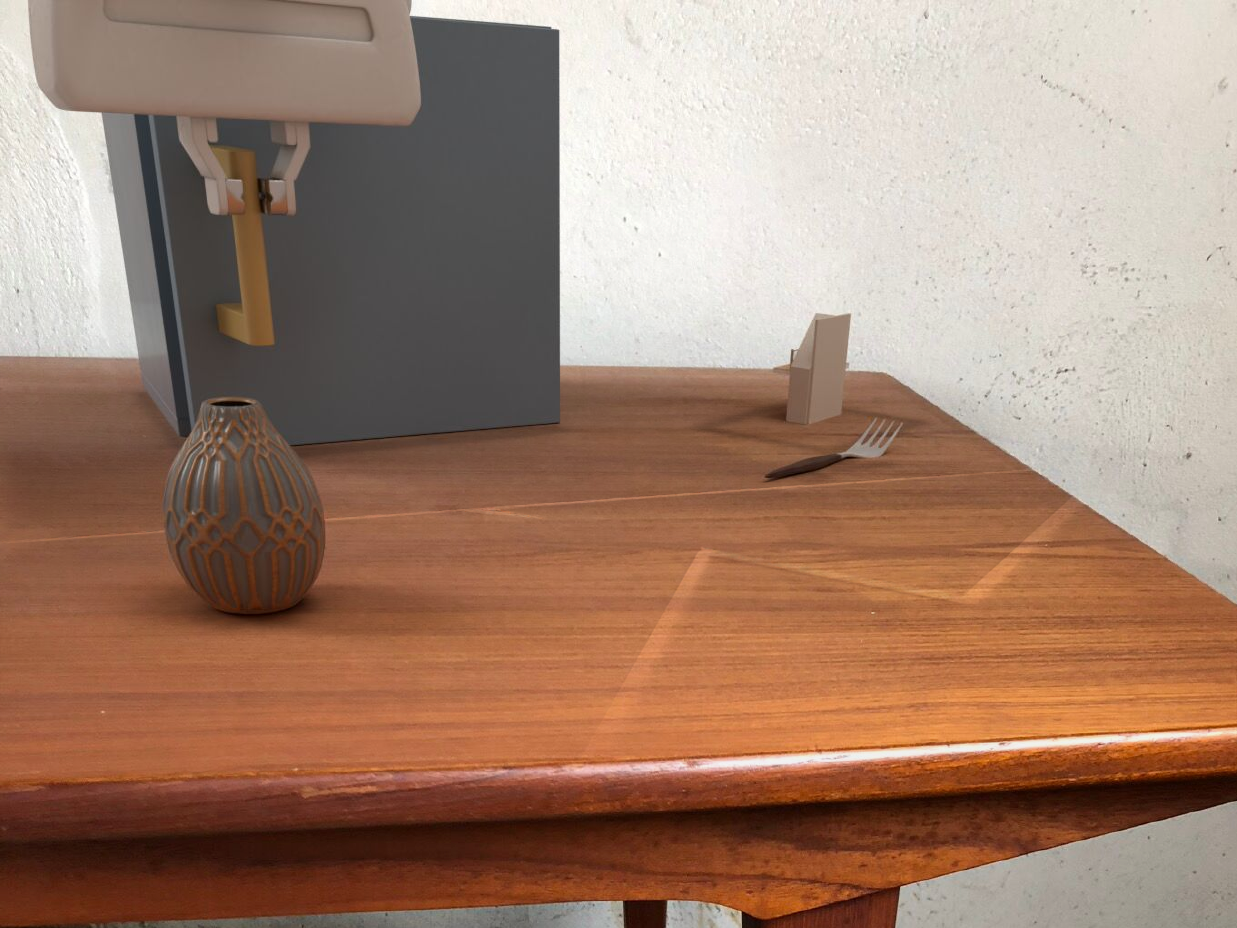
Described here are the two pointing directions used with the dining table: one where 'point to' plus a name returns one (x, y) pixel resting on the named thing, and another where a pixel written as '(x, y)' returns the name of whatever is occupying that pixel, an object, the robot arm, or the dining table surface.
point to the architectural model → (818, 370)
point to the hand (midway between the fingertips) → (252, 214)
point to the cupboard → (152, 260)
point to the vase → (243, 512)
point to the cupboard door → (385, 255)
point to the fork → (840, 454)
